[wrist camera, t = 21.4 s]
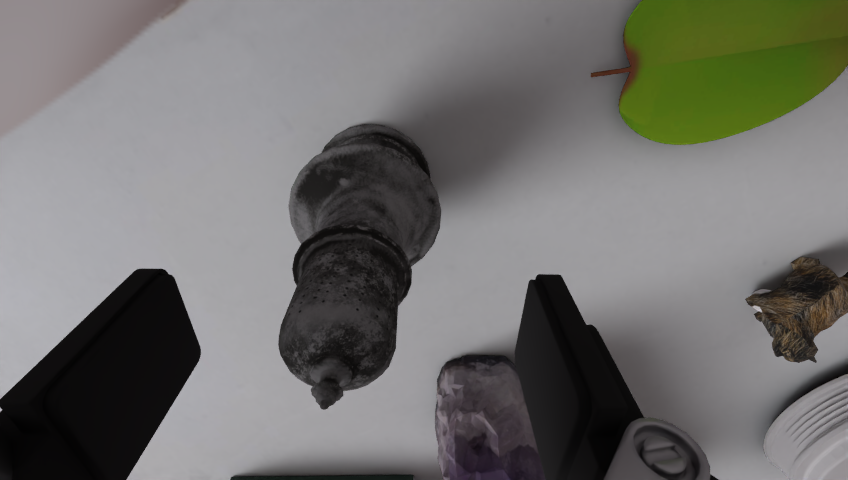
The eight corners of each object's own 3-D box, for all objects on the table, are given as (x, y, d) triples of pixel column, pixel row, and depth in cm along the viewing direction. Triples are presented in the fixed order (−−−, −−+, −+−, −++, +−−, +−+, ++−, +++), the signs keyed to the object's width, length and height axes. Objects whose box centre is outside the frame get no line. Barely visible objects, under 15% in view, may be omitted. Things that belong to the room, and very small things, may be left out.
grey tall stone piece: (424, 243, 20) (435, 492, 10) (307, 226, 20) (192, 474, 9) (448, 129, 17) (497, 319, 7) (311, 106, 17) (149, 278, 6)
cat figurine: (712, 305, 22) (783, 351, 19) (838, 209, 21) (940, 238, 18) (729, 332, 24) (800, 381, 20) (849, 242, 22) (948, 276, 19)
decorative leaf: (709, -115, 14) (728, -126, 13) (880, 18, 15) (907, 17, 15) (574, 97, 17) (582, 100, 16) (730, 188, 18) (745, 195, 18)
